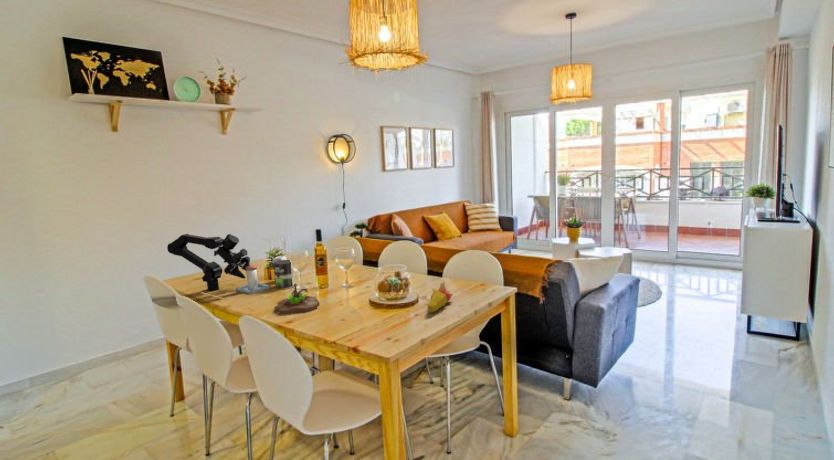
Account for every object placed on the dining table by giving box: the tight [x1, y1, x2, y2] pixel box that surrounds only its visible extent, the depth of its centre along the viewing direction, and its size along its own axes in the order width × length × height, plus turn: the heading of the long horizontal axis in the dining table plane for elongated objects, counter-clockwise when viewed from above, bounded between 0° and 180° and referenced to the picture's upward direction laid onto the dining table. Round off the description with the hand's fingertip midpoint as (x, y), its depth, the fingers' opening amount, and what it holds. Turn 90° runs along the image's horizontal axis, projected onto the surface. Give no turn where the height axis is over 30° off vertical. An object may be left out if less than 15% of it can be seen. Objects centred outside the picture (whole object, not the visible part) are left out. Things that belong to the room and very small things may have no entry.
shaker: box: [245, 264, 259, 291], centre depth 247 cm, size 5×5×12 cm
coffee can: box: [272, 259, 295, 291], centre depth 251 cm, size 10×10×14 cm
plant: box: [274, 282, 320, 315], centre depth 216 cm, size 20×20×11 cm
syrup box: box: [272, 255, 288, 268], centre depth 262 cm, size 6×6×14 cm
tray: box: [235, 282, 272, 295], centre depth 248 cm, size 14×12×2 cm
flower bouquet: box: [427, 279, 454, 313], centre depth 206 cm, size 8×8×25 cm
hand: (249, 275), depth 247 cm, fingers open, 9 cm apart
